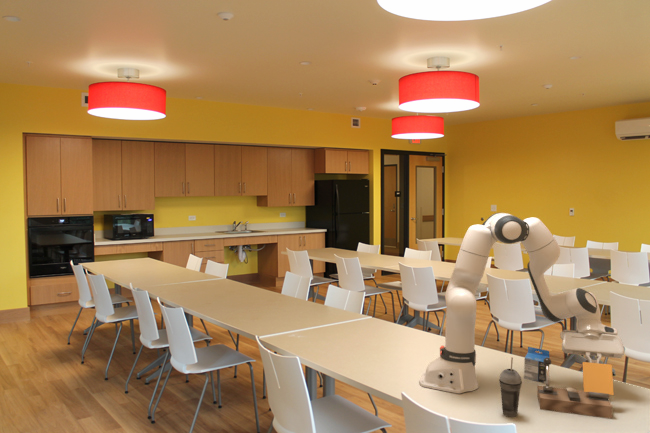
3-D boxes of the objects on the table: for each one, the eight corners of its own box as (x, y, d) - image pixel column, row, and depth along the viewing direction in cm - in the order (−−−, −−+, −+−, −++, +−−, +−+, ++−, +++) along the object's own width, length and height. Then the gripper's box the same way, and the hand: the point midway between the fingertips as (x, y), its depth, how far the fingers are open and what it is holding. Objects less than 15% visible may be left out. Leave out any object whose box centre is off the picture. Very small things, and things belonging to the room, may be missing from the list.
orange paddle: (584, 395, 170) (583, 361, 174) (583, 395, 172) (582, 362, 176) (614, 399, 168) (611, 364, 171) (612, 399, 169) (610, 364, 173)
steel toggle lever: (543, 391, 174) (543, 357, 178) (543, 391, 177) (542, 357, 180) (553, 392, 173) (552, 357, 177) (552, 392, 176) (551, 358, 179)
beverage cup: (516, 410, 170) (516, 352, 170) (525, 419, 163) (526, 359, 162) (495, 410, 170) (495, 353, 169) (503, 419, 163) (504, 360, 162)
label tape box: (523, 378, 200) (523, 348, 200) (527, 375, 203) (527, 346, 203) (545, 383, 194) (546, 353, 194) (549, 381, 197) (550, 350, 197)
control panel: (540, 409, 171) (540, 394, 171) (537, 396, 182) (537, 382, 182) (612, 418, 164) (612, 403, 163) (604, 404, 175) (604, 389, 175)
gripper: (560, 325, 188) (563, 358, 179) (621, 329, 181) (628, 364, 172) (559, 333, 192) (561, 366, 183) (618, 338, 185) (624, 372, 176)
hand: (594, 365), depth 178 cm, fingers closed
